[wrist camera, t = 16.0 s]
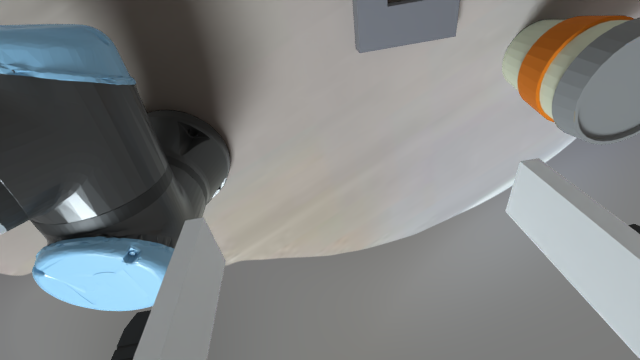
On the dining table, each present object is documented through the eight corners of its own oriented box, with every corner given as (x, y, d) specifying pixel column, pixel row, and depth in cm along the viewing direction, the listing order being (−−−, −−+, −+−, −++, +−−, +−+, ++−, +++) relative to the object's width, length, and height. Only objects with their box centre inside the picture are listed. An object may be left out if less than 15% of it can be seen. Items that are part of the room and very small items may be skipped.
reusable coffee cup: (526, -10, 37) (644, 2, 25) (601, 18, 40) (740, 41, 28) (472, 88, 44) (545, 135, 32) (540, 106, 47) (630, 155, 35)
